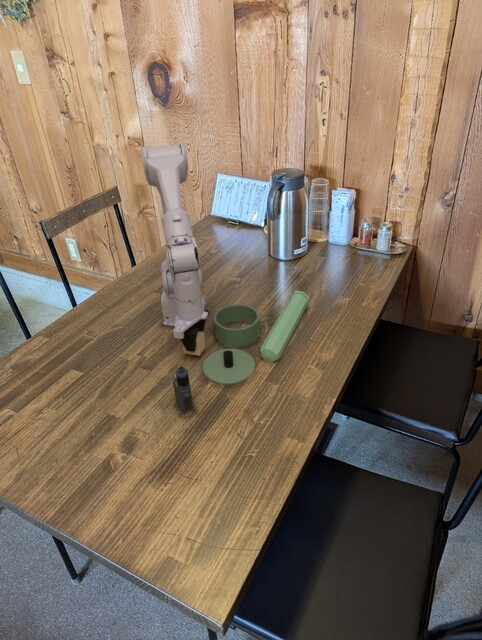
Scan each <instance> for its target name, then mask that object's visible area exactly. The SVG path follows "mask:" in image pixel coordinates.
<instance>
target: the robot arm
mask: <svg viewBox="0 0 482 640" xmlns="http://www.w3.org/2000/svg"><path fill="white" fill-rule="evenodd" d="M140 153H141V160H142V165H143V172H144V175H145V180H146V182H147V184H148V186H151V187H154V188H156V190H157V192H158V195H159V196H160V203H161V209H162V218H161V219H162V226H163V232H164V238H165V244H166V248H165V255H166V258H165V259H164V260H163V261H162V262H161V263H160V264H161V265H160V274H161V275H160V276H161V281H162V286H163V291H162V293H161V297H160V307H161V312H162V318H163V322H162V326H173V327H172V334H173V338H175V339H179V340H180V341H181V342H182V346H183V345H184V347H185V349H186V351H190V352H195V349H196V337H197V333H198V331H200V332H204V333H205V327H206V322H207V319H208V317H209V315H210V312H209V310H208V309H205V305H206V304H207V295H202V288H203V286H204V281H203V275H202V269H201V256H200V251H199V250H200V249H199V247H198V244H197V241H196V237H195V236H194V233H193V228H192V224H191V218H190V214H189V213H188V212H187V211H186V210H184V209H183V202H182V193H181V184H183V183H185V182H186V181H187V178H188V172H189V171H188V170H189V160H188V153H187V148H186V145H185V144H184V143H179V144H169V145H159V146H149V147H145V146H143V147H142V148H141V150H140Z"/></svg>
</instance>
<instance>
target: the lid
mask: <svg viewBox="0 0 482 640" xmlns="http://www.w3.org/2000/svg"><path fill="white" fill-rule="evenodd" d="M255 369H256V361H255V359H254V357H253V356H252V355H251V354H249V353H248V352H247V351H246V350H245V351H244V350H242V349H239V348H238V349H237V348H223V349H219V350H216V351H213V352H212V353H211V354H209V355H208V356H207V357H206V358H205V359H204V361H203V364H202V371H203V374H204V376H205V377H206V378H207V379H208V380H209V381H210V382H212V383H215V384H218V385H223V386H224V385H226V386H227V385H236V384H239V383H242V382H245V381H247V380H248V379H249V378H250V377H251V376H252V375H253V374H254V372H255Z"/></svg>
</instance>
